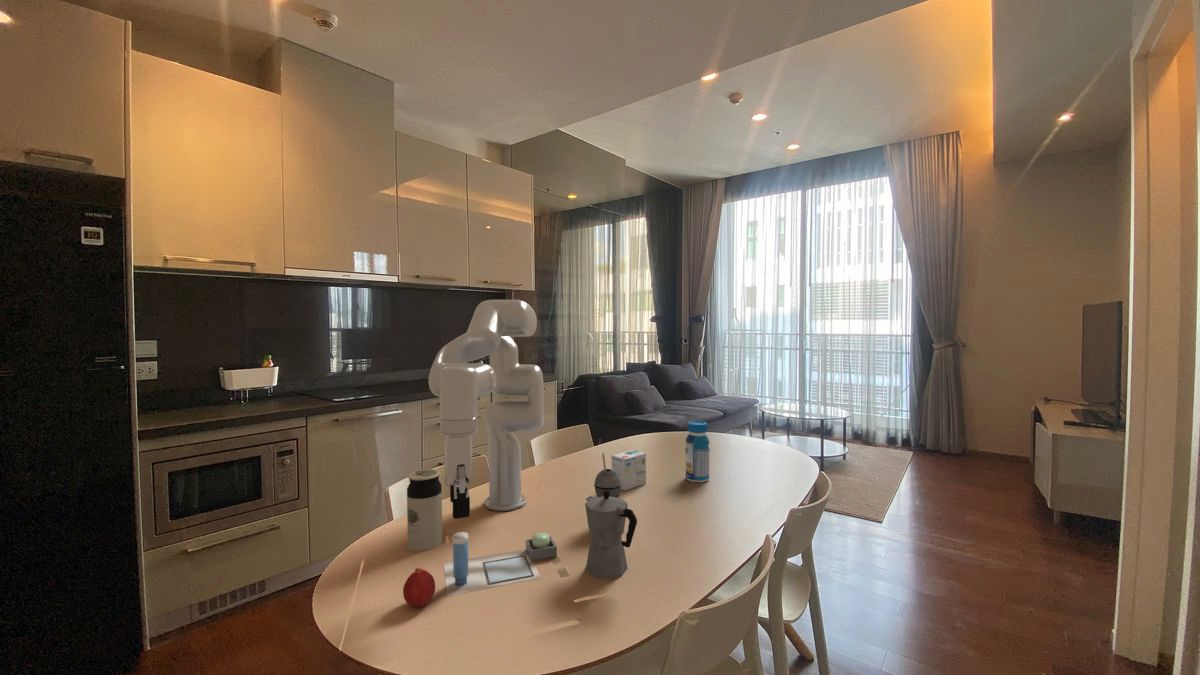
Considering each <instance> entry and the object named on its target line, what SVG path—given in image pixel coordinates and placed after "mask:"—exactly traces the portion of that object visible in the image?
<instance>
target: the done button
mask: <svg viewBox="0 0 1200 675" xmlns="http://www.w3.org/2000/svg"><path fill="white" fill-rule="evenodd" d="M550 536H551V535H550V534H549V533H547V532H537V533H534V534H533V535H532V537H531V539H532V548H533V549H539V548H545V547H550Z"/></svg>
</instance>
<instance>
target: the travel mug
mask: <svg viewBox="0 0 1200 675" xmlns="http://www.w3.org/2000/svg"><path fill="white" fill-rule="evenodd" d="M440 475H441V471H439V469H434V468H433V469H430V468H429V469H420V470H418V469H417V470H415V471H413V472H410V473H409V474H408V475H407V478H408V479H409V484H408V486H407V488H406V508H407V509H406V510H407V511H406V512H407V513H406V514H407V515H406V516H407V517H406V518H407V520H406V522H407V549H408V548H409V549H408V550H411V551H413V550H414V551H415V552H424V551H430V550H433V549H435V548H437V547H439V546H440V545H442V544H443V506H442V505H443V501H442V500H443V499H442V498H443V496H442V492H443V491H442V483H441V482H440V480H439V478H440Z"/></svg>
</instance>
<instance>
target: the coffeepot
mask: <svg viewBox="0 0 1200 675" xmlns="http://www.w3.org/2000/svg"><path fill="white" fill-rule="evenodd" d="M609 495H610V491H609V490H603V497H596V496H588V497H585V498H584V499H585V500H586V502H585V503H584V505H585V511H586V512H585V513H586V518H587V519H586V520H587V525H588V526H587V528H588V532H589V534H590V535H591V537H590V538H591V540H590V542H589V546H588V554H587V559H586V565H585V569H586V571H587V572H588V574H589V575H590V577H594V578H598V579H603V580H611V579H616V578H622V577H623V575H625V573H626V572H627V571H628V569H629V568H628V564H627V558H626V553H625V552H626V550H625V548H630V547H631V545H632V541H633V537H634V534H635V530H636V527H637V524H638V518H637V516H636V514H635V513H634V511H633V510H632V509H631V508H630V509H629V508H628V506H629V504H628V502H626V500H624V499H623V498H622V497H619V498H617V497H610V496H609ZM626 518H627V519H628V522H629V523H628V526H627V527H628V529H627V531H626V535H625V536H626V537H625V540H623V539H622V538H623V537H622V536H623V534H624V532H625V526H626Z"/></svg>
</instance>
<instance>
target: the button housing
mask: <svg viewBox="0 0 1200 675" xmlns="http://www.w3.org/2000/svg"><path fill="white" fill-rule="evenodd" d="M549 536H550V547H545V548H539V549H533V548H532V538H529V539H527V538H526V539H525V549H526V552H527V554H528V556H529V558H530V561H531V562H534V563H535V562H539V561H544V560H546V561H547V560H551V559H552V558H557V555H558V552H557V549H558V546H557V544H556V543H555V541H554V540H553V537H552V535H549Z"/></svg>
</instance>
